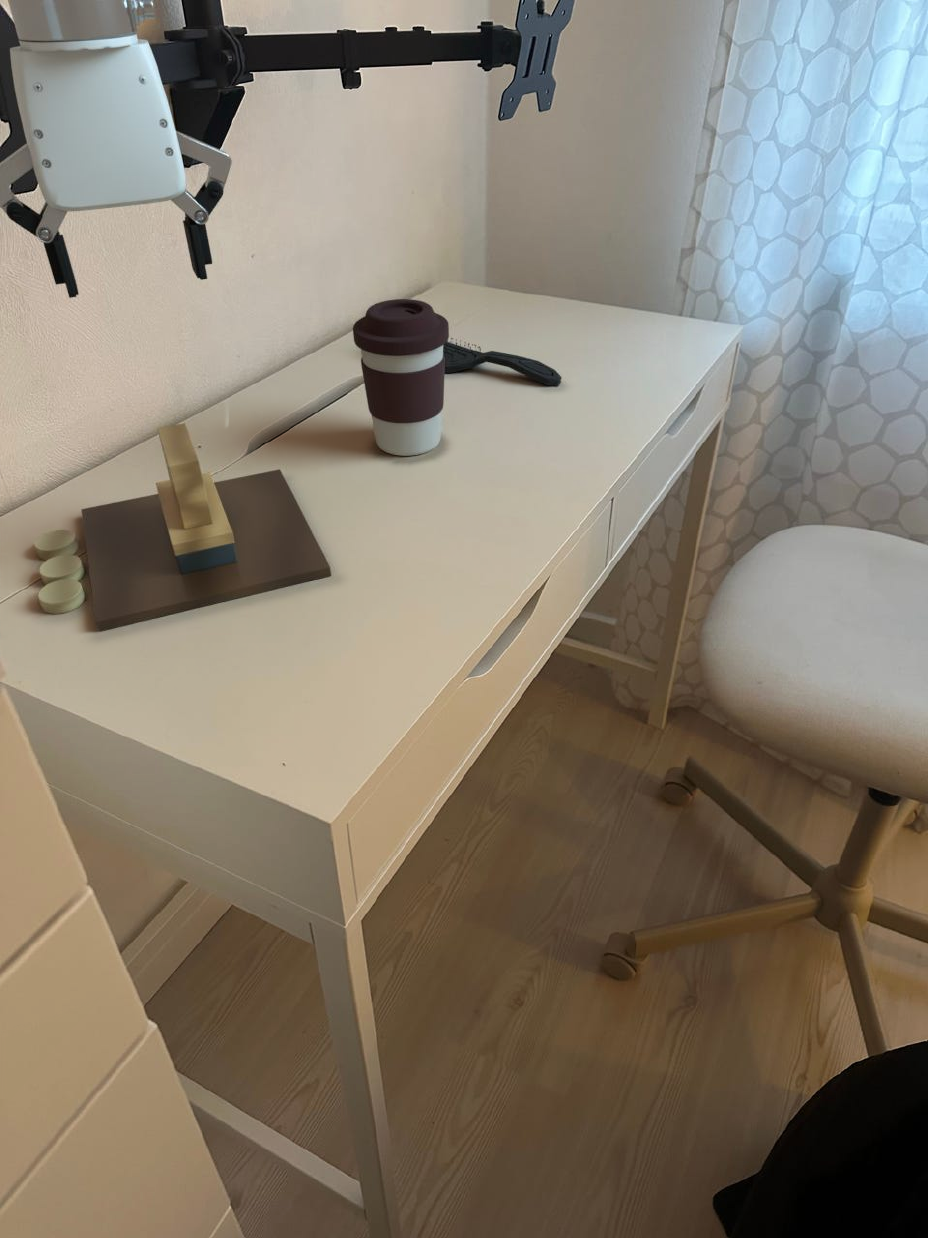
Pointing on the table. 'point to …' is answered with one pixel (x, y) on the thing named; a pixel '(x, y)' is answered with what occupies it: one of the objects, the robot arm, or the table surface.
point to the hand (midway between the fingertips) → (138, 283)
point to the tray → (154, 587)
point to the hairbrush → (497, 362)
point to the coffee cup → (403, 373)
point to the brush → (192, 506)
